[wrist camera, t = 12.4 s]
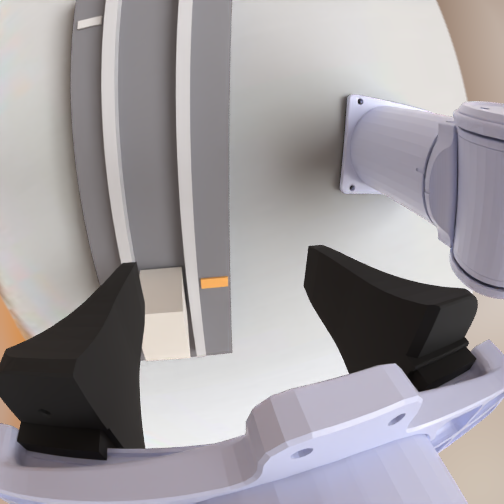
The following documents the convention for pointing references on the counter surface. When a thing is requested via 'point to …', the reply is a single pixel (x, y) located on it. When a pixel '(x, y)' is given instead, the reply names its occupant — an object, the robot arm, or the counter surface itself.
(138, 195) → the fader track
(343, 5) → the counter surface
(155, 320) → the fader tab
